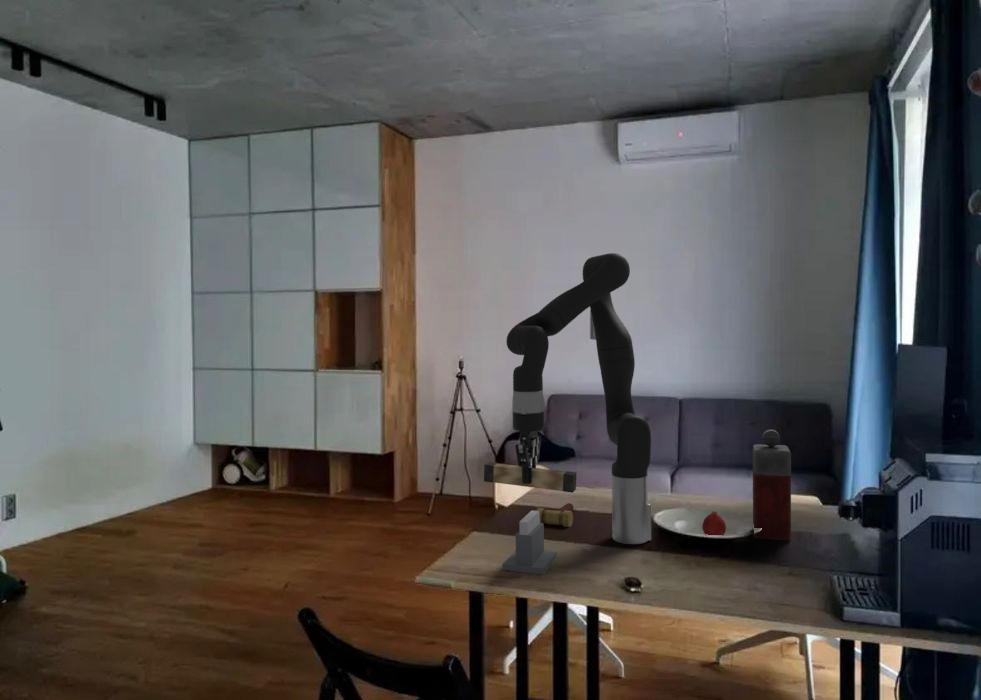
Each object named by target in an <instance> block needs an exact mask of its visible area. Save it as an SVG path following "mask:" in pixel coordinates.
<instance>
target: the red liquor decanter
mask: <svg viewBox="0 0 981 700" xmlns="http://www.w3.org/2000/svg"><path fill="white" fill-rule="evenodd" d="M762 441H763V443H764V444H757V443H756V444H753V446H752V525H753V524H754V528H762V530H761V531H760V532H758V533H756V534H755V535H754V534H753V537H754V539H763V540H775V541H788V542H789V541H790V542H791V541H792V460H791V459H792V453H791V451H790V449H789V447H788V446H787V445H785V444H784V445H783V444H779V443H780V442H781V437H780V434H779V432H777V430H775V429H767V430H765V431H764V432H763V434H762Z"/></svg>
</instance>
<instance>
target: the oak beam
mask: <svg viewBox="0 0 981 700" xmlns="http://www.w3.org/2000/svg"><path fill="white" fill-rule="evenodd" d="M483 472H484V474H483V482H485V483H495V484H502V485H503V484H504V485H512V486H519V487H528V488H533V489H542V490H543V489H544V490H549V491H550V490H551V491H559V492H564V493H574V492H575V491H576V490H577V472H576V471H568V470H567V471H565V470H557V469H556V470H555V469H547V468H539V467H536V468H532V483H530V484H524V483H523V482H522V468H521V467H519V466H518V465H512V464H505V463H498V462H486V463H485V464H484V468H483Z"/></svg>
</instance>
